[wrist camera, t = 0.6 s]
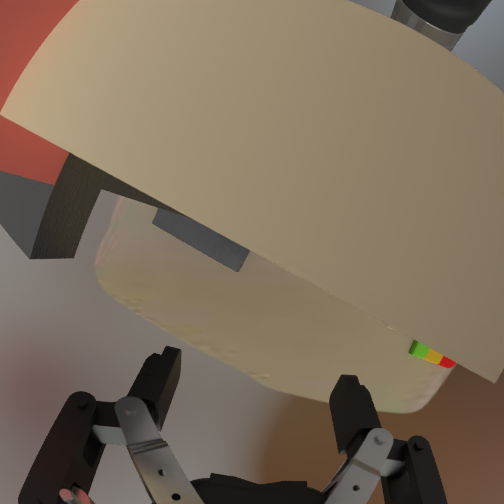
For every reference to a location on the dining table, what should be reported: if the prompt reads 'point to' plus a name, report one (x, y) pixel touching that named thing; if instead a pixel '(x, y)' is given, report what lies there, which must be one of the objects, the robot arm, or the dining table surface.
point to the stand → (79, 209)
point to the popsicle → (429, 354)
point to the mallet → (283, 143)
